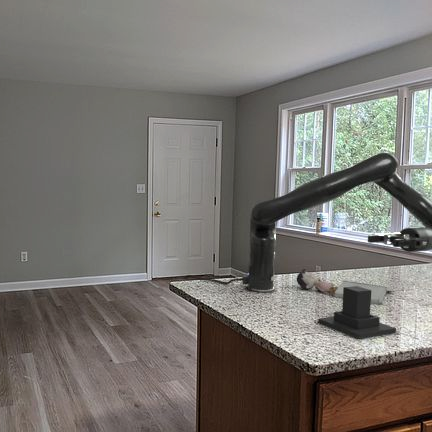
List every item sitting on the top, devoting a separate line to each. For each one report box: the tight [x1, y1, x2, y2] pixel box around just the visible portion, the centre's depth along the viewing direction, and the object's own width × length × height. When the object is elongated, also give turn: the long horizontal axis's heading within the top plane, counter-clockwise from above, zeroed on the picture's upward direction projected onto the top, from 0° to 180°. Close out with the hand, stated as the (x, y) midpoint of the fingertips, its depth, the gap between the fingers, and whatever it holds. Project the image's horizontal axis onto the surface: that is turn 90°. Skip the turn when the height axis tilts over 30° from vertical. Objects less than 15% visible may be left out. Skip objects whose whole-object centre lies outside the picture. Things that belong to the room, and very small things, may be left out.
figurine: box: [296, 268, 339, 295], centre depth 163 cm, size 10×6×15 cm
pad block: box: [341, 286, 372, 319], centre depth 121 cm, size 5×5×10 cm
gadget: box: [332, 280, 393, 305], centre depth 159 cm, size 23×15×4 cm, turn 141°
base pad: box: [317, 310, 397, 340], centre depth 122 cm, size 14×14×4 cm
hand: (381, 241), depth 129 cm, fingers open, 8 cm apart
